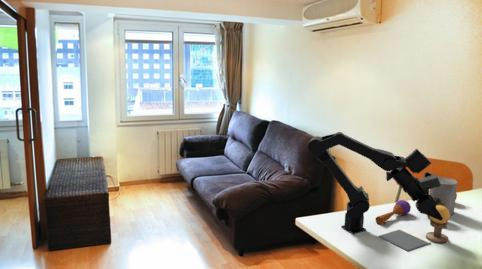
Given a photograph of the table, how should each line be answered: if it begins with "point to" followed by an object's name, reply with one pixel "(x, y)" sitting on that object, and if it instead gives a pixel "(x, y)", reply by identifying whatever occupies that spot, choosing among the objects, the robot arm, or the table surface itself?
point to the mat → (404, 239)
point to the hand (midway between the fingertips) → (438, 214)
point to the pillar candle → (446, 192)
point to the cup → (438, 203)
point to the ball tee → (437, 233)
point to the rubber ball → (442, 214)
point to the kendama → (395, 211)
